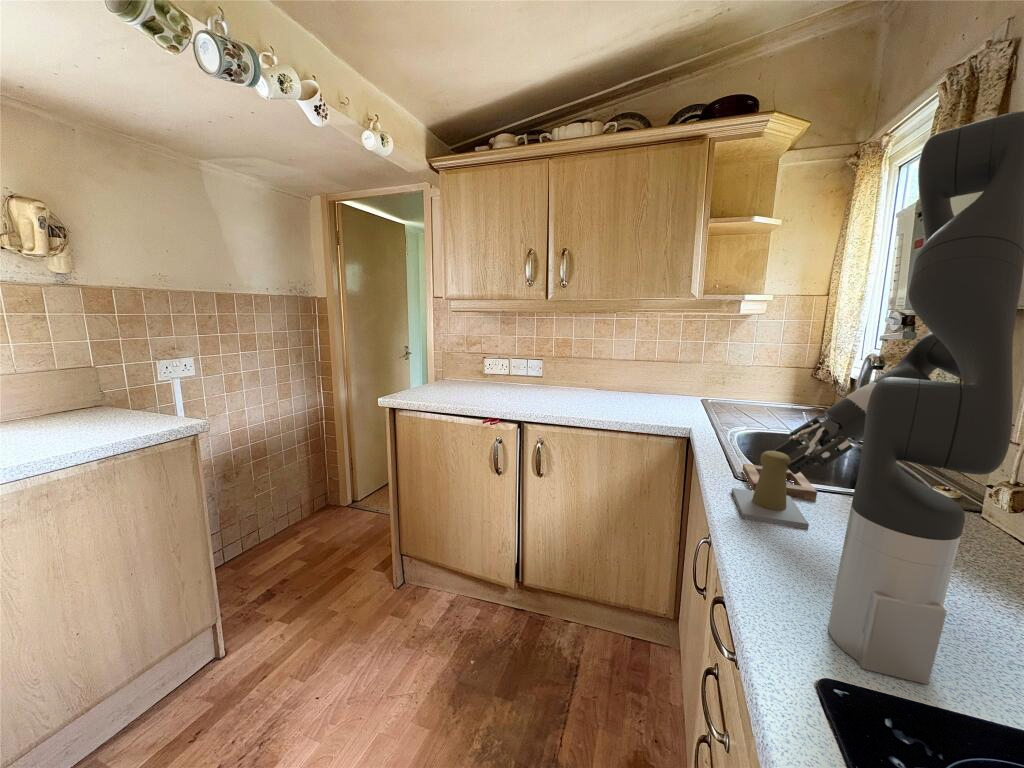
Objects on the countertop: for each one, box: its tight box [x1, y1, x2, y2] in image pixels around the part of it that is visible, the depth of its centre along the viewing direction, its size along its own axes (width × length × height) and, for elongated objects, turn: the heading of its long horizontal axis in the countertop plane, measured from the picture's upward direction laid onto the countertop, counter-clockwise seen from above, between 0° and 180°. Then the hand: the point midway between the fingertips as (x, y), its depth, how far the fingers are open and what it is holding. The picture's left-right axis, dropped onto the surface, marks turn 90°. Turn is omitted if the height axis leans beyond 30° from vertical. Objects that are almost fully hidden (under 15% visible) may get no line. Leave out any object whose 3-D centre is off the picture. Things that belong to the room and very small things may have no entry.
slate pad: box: [731, 487, 810, 530], centre depth 84 cm, size 12×11×1 cm
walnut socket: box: [742, 463, 818, 501], centre depth 96 cm, size 12×12×2 cm
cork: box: [752, 450, 792, 511], centre depth 83 cm, size 6×6×11 cm
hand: (783, 462), depth 82 cm, fingers open, 8 cm apart
